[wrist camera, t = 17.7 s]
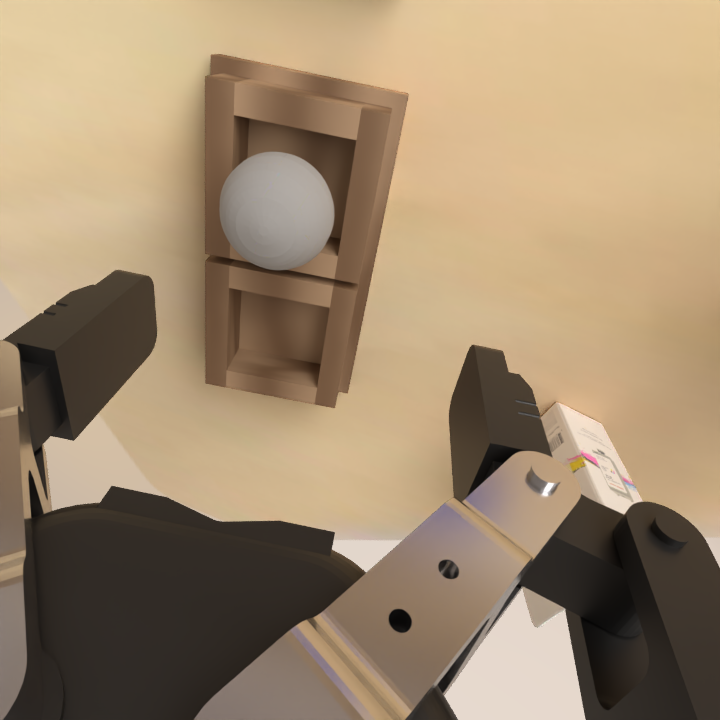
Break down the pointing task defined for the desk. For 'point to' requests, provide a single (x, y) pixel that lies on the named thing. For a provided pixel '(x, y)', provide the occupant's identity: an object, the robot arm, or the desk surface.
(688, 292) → the desk surface
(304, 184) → the light bulb
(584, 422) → the ink cartridge box
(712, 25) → the desk surface
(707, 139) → the desk surface
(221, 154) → the bulb rack
